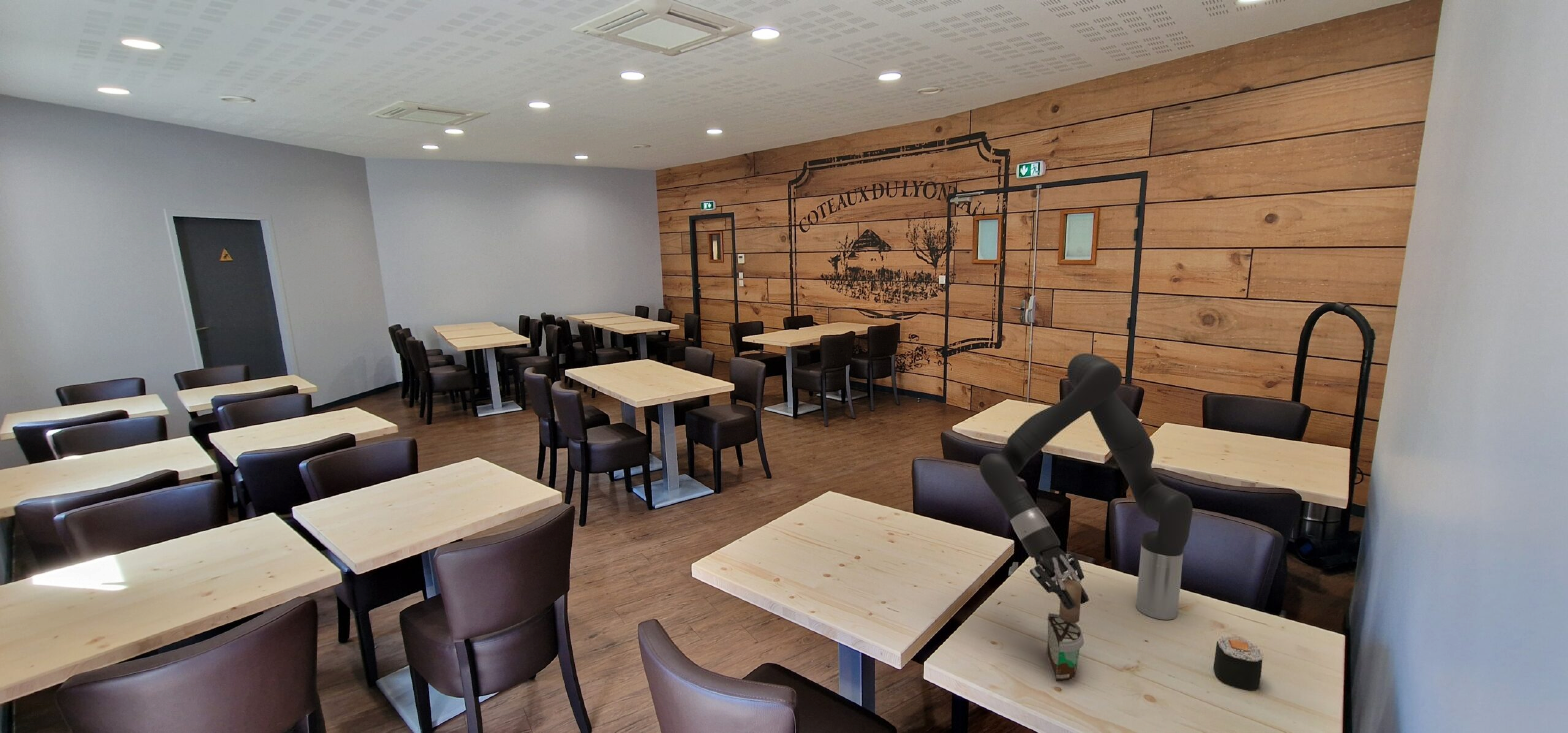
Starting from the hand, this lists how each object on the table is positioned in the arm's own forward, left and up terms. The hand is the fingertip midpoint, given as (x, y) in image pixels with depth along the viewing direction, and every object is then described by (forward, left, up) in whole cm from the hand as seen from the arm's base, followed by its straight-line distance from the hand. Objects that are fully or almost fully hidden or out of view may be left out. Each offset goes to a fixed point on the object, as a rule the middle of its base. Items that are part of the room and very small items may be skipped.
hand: (1078, 605), depth 135 cm
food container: (0, -2, -17) cm, 17 cm away
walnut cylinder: (0, -2, -4) cm, 4 cm away
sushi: (-29, +19, -17) cm, 39 cm away
